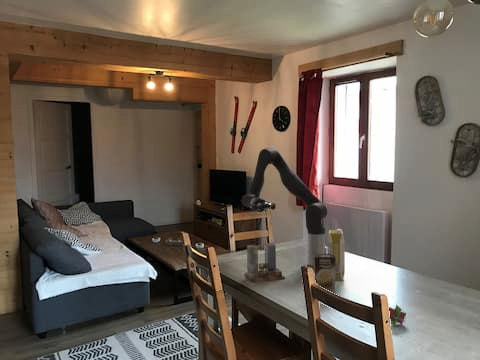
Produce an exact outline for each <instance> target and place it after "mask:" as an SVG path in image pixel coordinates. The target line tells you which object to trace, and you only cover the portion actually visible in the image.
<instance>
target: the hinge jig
mask: <svg viewBox="0 0 480 360" xmlns="http://www.w3.org/2000/svg"><path fill="white" fill-rule="evenodd" d="M246 245H247V244H246ZM259 251H265V244H258V245H255V244H248V245H247V246H246V252H247V253H246V256H247V259H246V262H247V265H246V266H247V268H246V269H247V271H246V272H244V275H245V276H246V278H247V279H248V280H249V281H250V283H258V282H268V281H277V280H278V281H279V280H285V278H286V277H285V276H284V275H283V271H282V270H280V269H279V268H278V267H276V270H274V271H268V276H267V275H266V274H265V269H263V270H260V269H259Z"/></svg>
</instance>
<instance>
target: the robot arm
mask: <svg viewBox="0 0 480 360" xmlns="http://www.w3.org/2000/svg"><path fill="white" fill-rule="evenodd" d="M269 165H272V166H273V167H274V168H275V169H276V170H277V172H278V174H279V177H280V181H281V182H282V185H283V186H284V187H285V188H286V189H287V191H288V192H289V193H290V194H291V195H292V196H295V198H297V199H299V200H300V201H301V202H302V203H304V204H305V205H306V209H305V227H306V230H307V265H308V266H310V267H313V262H314V253H315V254H327V246H326V229H325V228H326V227H324V226H323V219H325V218H326V217H327V215H328V209H327V206H326V205H325V203H323V202H322V201H321V200H319V198H318V197H317V196H315V194H313V192H312V191H311V190H310V188H309V187H307V185H306V184H305V183H304V182H303V180H302V179H301V178H300V177H299V176H298V174H296V172H295V171H294V170H293V169H292V168H291V166H290V165H289V164H288V162H286V161H285V159H284V157H283V156H282V155H281V153H280V152H279V151H278V150H277V149H276V148H275V147H267V148H263V149H261V150H260V152H259V153H258V157H257V162H256V167H255V171H254V174H253V177H252V181H251V184H250V185H249V188H248V191H249V193H250V194H245V195H243V196H242V197H241V204H242V205H243V206H245V207H248V208H249V209H250V210H253V211H256V212H258V213H262V212H264V211H266V210H268V211H269V210H272V211H274V210H275V209H276V203H274V202H272V203H270V202H267V201H266V200H265V199H264V198H261V197H260V196H261V192H262V189H263V187H264V185H265V184H264V183H265V172H266V169H267V168H268V166H269Z"/></svg>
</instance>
